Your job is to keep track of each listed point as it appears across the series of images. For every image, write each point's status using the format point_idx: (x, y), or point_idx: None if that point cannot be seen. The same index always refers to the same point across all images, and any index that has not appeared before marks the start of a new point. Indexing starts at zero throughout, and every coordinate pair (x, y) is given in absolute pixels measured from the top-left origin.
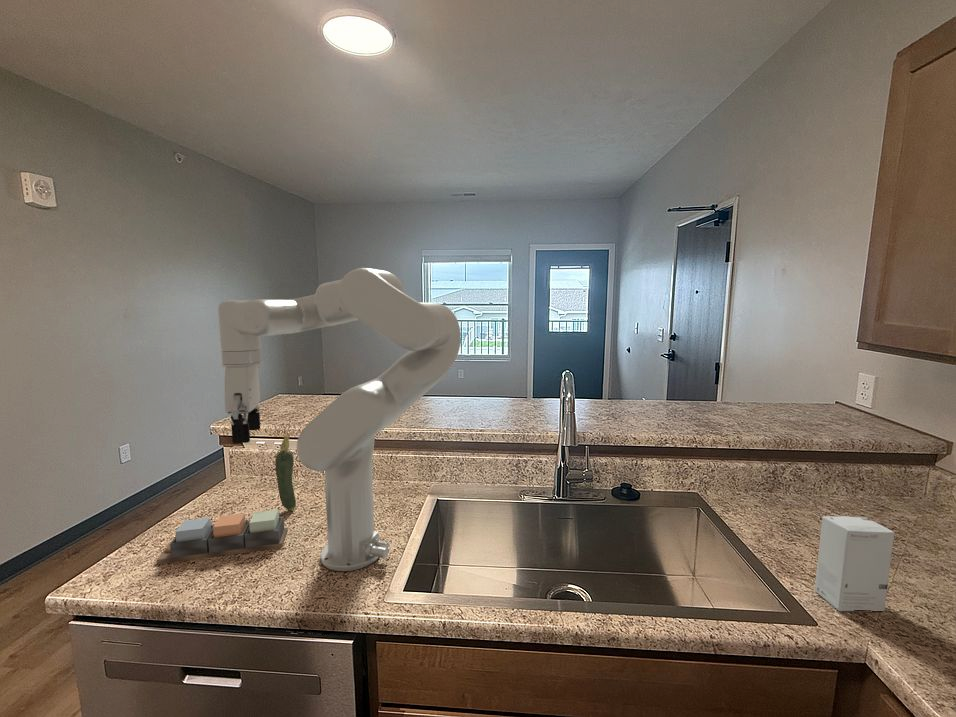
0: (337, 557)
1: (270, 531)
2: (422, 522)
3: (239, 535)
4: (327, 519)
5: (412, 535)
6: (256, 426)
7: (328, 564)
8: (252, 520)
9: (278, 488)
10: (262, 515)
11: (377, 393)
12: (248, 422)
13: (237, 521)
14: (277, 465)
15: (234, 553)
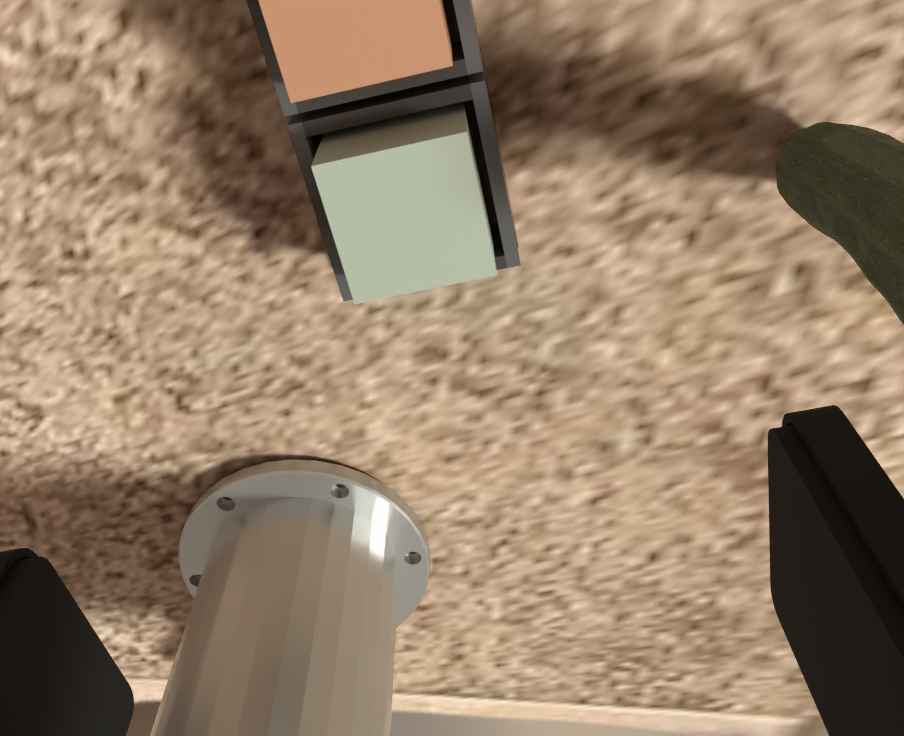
0: (208, 556)
1: (333, 262)
2: (545, 719)
3: (278, 95)
4: (203, 646)
5: (446, 700)
6: (787, 621)
7: (190, 518)
8: (343, 173)
9: (841, 157)
10: (413, 208)
11: None
12: (828, 593)
13: (327, 72)
14: None
15: None
